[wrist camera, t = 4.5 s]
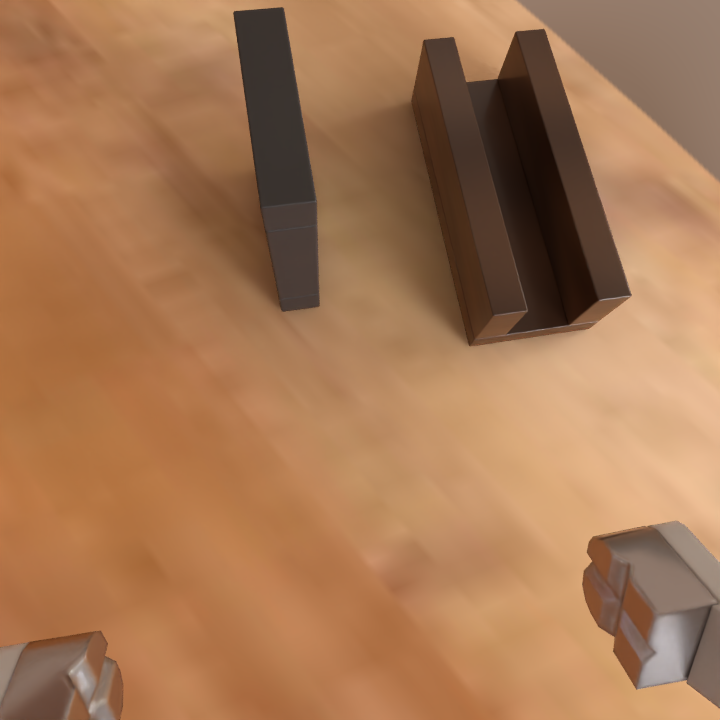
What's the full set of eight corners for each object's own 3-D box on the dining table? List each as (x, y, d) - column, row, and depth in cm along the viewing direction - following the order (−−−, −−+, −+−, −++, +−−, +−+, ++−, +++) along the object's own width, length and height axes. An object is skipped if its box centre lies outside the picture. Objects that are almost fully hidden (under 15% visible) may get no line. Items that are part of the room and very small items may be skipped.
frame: (319, 306, 27) (316, 201, 18) (281, 312, 26) (260, 207, 18) (296, 162, 29) (283, 6, 20) (260, 166, 29) (232, 10, 20)
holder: (589, 328, 27) (632, 295, 23) (469, 346, 27) (493, 316, 23) (517, 90, 31) (545, 28, 27) (411, 100, 30) (423, 39, 27)
